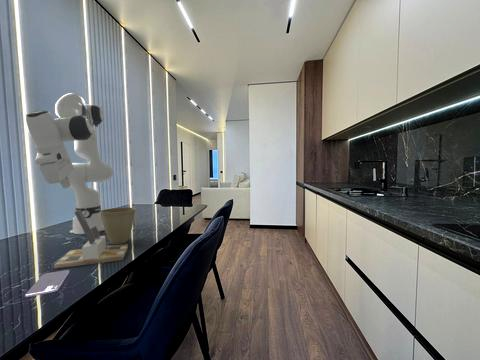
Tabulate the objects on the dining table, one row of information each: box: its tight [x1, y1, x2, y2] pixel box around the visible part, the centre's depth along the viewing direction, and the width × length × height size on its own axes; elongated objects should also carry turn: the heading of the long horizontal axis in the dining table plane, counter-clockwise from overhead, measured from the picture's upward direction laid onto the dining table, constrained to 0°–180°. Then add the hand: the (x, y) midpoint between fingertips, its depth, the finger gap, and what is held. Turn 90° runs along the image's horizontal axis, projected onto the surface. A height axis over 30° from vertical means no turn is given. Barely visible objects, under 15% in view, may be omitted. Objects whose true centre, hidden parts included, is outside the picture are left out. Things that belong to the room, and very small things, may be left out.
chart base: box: [53, 243, 129, 270], centre depth 92 cm, size 15×22×2 cm
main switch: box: [74, 210, 96, 244], centre depth 88 cm, size 4×1×14 cm, turn 19°
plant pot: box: [100, 206, 136, 246], centre depth 110 cm, size 15×15×16 cm
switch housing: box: [81, 235, 107, 260], centre depth 92 cm, size 13×5×5 cm, turn 19°
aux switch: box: [91, 226, 101, 239], centre depth 95 cm, size 4×1×5 cm, turn 19°
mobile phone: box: [24, 269, 70, 298], centre depth 72 cm, size 8×1×15 cm
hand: (67, 187), depth 93 cm, fingers closed
